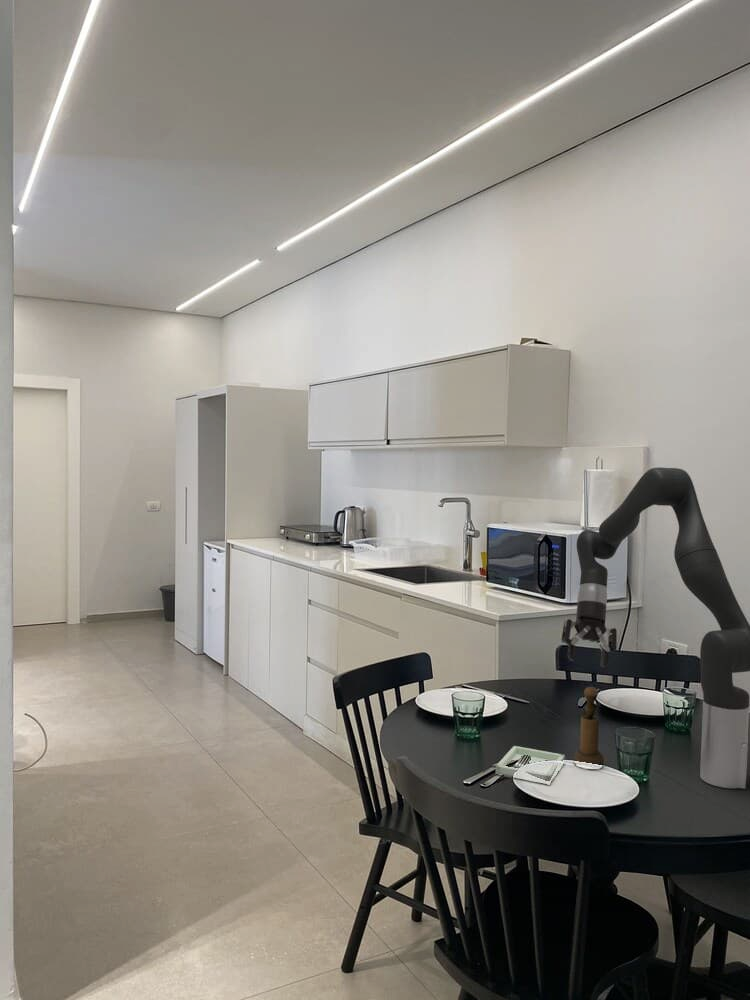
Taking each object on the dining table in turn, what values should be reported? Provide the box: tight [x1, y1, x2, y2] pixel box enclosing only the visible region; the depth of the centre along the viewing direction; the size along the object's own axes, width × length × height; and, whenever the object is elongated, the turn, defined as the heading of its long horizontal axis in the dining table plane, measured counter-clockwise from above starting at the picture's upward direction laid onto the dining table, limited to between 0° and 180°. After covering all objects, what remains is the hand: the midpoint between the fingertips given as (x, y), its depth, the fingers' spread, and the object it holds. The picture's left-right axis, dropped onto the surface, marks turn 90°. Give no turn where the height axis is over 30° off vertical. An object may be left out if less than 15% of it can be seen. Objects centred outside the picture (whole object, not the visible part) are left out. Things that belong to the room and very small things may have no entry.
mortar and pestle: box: [573, 686, 605, 765], centre depth 184 cm, size 7×6×18 cm
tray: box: [495, 745, 566, 781], centre depth 182 cm, size 12×14×2 cm
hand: (587, 663), depth 211 cm, fingers open, 8 cm apart
